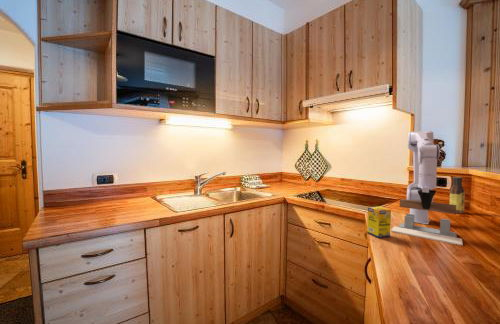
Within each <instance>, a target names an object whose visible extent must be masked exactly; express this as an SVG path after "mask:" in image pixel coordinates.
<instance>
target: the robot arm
mask: <svg viewBox="0 0 500 324" xmlns="http://www.w3.org/2000/svg"><path fill="white" fill-rule="evenodd" d="M407 147H408V148H407V149H408V150H410V151H411V152H412V155H413V182H411V183H410V184H408V185H407V189H406V200H415V201H421V203H422V208H423V209H430V206H431V202H433V203H434V196H435V195H436V194H437V190H436V189H437V188H438V186H437V172H438V171H437V169H438V160H439V158H440V157H439V156H440V146H439V144H435V143H434V132H433V131H432V130H424V131H408V133H407ZM409 214H413V215H415V219H414V223H415V224H416V223H417V224H423V225H429V223H430V221H431V220H430V219H429V211H427V210H420V209H412V208H409Z"/></svg>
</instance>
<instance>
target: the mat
mask: <svg viewBox="0 0 500 324" xmlns="http://www.w3.org/2000/svg"><path fill="white" fill-rule="evenodd" d="M390 233H396V234H401V235H406V236H412V237H416V238H420V239H426V240H431V241H436V242H442V243H447V244H451V245H456V244H457V246H461V245H462V247H463V239H462V238H460V237H457V238H455V237H450V236H444V235H439V234H433V233H428V232H422V231H417V230H412V229H406V228H401V227H399V226H395V225H394V226H393V227H392V228H391V229H390Z"/></svg>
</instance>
